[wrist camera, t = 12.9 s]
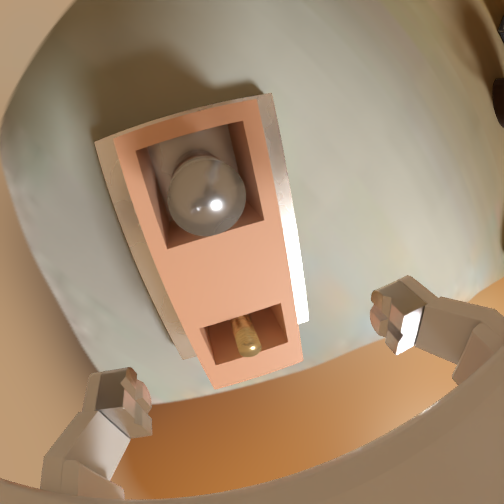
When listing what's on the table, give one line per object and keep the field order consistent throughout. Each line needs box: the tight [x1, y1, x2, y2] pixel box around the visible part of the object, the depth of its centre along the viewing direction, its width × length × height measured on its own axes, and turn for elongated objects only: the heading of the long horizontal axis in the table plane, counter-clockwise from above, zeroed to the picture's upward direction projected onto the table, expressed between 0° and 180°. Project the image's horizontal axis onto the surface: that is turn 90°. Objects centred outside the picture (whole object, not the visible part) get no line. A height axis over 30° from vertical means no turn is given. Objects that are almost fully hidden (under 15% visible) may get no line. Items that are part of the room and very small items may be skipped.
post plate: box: [94, 93, 309, 360], centre depth 14 cm, size 16×10×8 cm, turn 12°
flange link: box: [113, 99, 303, 389], centre depth 15 cm, size 15×6×4 cm, turn 12°
